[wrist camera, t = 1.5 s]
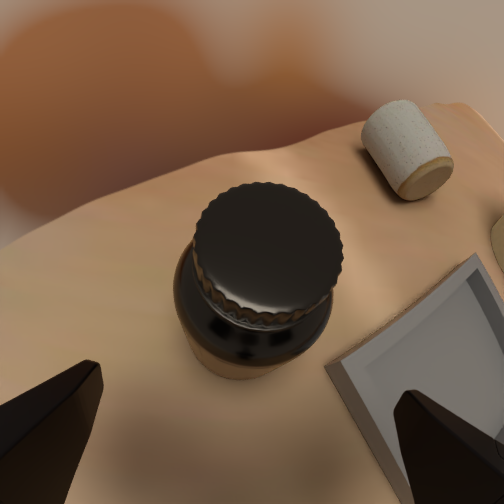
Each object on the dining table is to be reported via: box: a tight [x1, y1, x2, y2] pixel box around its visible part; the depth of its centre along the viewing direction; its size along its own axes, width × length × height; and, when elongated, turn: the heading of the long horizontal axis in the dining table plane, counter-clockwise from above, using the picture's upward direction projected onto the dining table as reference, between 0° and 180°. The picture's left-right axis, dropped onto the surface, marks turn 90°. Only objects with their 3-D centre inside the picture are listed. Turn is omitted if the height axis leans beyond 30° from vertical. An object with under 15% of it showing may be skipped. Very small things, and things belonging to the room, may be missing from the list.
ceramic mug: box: [361, 100, 454, 200], centre depth 26 cm, size 11×8×8 cm
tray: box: [324, 252, 504, 504], centre depth 18 cm, size 18×18×3 cm
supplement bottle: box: [173, 182, 344, 380], centre depth 14 cm, size 7×7×12 cm
